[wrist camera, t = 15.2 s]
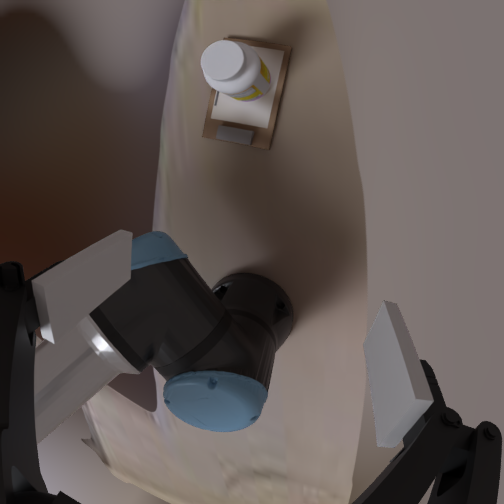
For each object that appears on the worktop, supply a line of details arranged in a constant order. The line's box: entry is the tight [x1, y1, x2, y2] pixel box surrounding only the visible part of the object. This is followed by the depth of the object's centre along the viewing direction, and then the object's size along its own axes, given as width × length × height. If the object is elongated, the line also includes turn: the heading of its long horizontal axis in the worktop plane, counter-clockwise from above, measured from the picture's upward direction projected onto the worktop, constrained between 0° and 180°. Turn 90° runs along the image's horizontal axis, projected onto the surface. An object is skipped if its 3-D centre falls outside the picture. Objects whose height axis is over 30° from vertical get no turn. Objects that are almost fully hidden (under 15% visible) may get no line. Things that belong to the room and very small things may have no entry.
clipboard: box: [202, 38, 292, 150], centre depth 39 cm, size 16×10×2 cm, turn 168°
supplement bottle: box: [201, 40, 271, 102], centre depth 33 cm, size 7×7×13 cm
